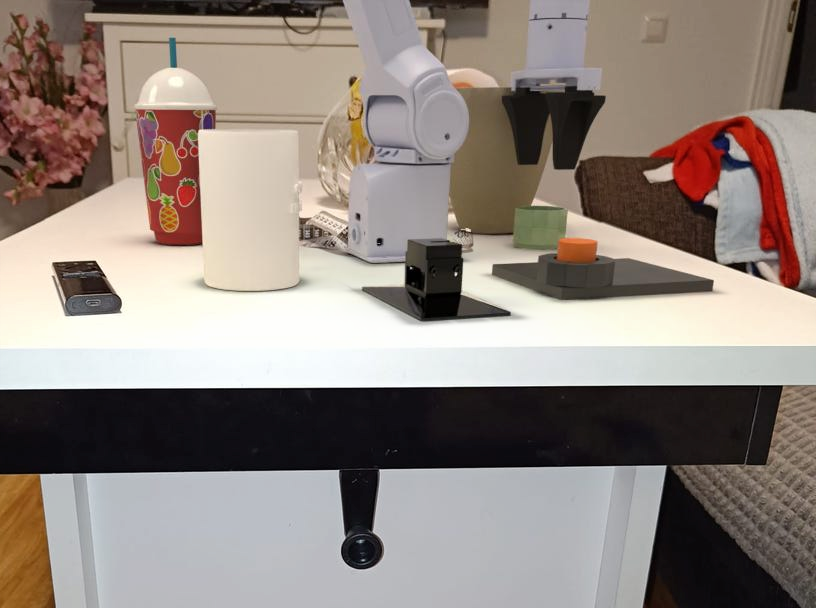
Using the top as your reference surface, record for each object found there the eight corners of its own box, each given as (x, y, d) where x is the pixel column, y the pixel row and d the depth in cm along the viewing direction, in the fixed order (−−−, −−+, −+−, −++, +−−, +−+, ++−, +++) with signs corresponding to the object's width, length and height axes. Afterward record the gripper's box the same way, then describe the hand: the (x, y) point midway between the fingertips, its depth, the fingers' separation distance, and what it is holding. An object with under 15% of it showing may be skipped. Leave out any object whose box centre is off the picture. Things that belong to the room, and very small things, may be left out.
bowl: (527, 251, 96) (531, 211, 95) (503, 244, 101) (506, 206, 99) (573, 249, 98) (577, 210, 96) (547, 242, 103) (551, 205, 101)
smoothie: (237, 240, 102) (231, 39, 94) (186, 249, 95) (175, 33, 88) (179, 234, 106) (169, 41, 98) (127, 243, 99) (111, 36, 92)
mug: (283, 265, 86) (281, 127, 82) (311, 289, 76) (311, 131, 71) (194, 268, 84) (187, 127, 80) (210, 292, 74) (203, 131, 69)
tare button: (568, 266, 72) (571, 243, 71) (549, 260, 75) (551, 238, 74) (602, 265, 73) (605, 242, 72) (582, 259, 76) (584, 237, 75)
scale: (559, 302, 71) (562, 265, 70) (486, 275, 82) (488, 243, 81) (716, 293, 75) (722, 258, 74) (627, 268, 86) (631, 238, 85)
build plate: (512, 318, 66) (517, 252, 65) (417, 325, 64) (420, 257, 62) (440, 286, 77) (443, 228, 75) (357, 290, 75) (358, 232, 73)
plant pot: (479, 220, 122) (487, 88, 116) (576, 231, 112) (590, 87, 106) (400, 229, 112) (405, 86, 106) (498, 242, 102) (509, 85, 96)
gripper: (636, 16, 86) (618, 171, 91) (556, 27, 99) (544, 162, 104) (569, 14, 84) (555, 172, 89) (496, 25, 97) (487, 163, 102)
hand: (545, 167), depth 96 cm, fingers open, 7 cm apart
